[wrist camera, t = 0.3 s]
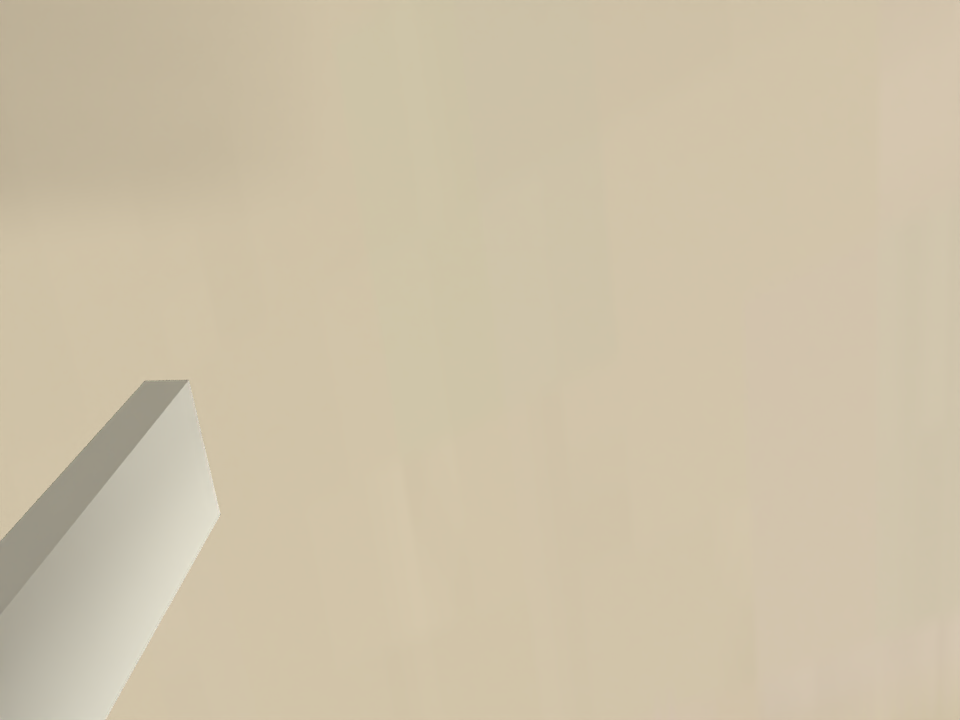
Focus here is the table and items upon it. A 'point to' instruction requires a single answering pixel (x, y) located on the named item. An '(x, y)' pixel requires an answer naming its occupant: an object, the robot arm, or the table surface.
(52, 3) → the table surface
